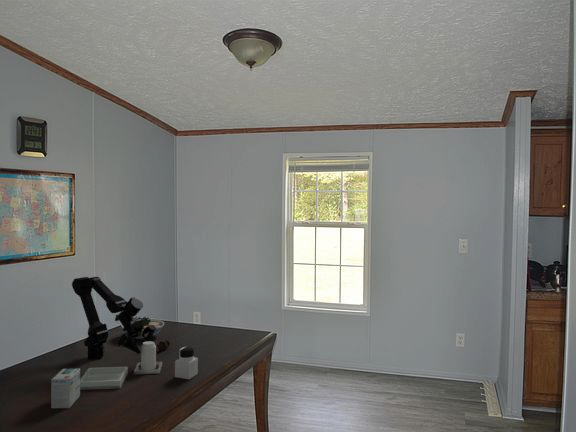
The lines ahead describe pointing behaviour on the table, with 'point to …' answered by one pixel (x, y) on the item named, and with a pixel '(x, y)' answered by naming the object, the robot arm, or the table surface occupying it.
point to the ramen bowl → (156, 323)
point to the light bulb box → (65, 388)
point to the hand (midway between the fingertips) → (147, 350)
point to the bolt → (162, 346)
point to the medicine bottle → (186, 364)
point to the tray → (103, 378)
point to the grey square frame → (148, 370)
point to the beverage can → (148, 356)
